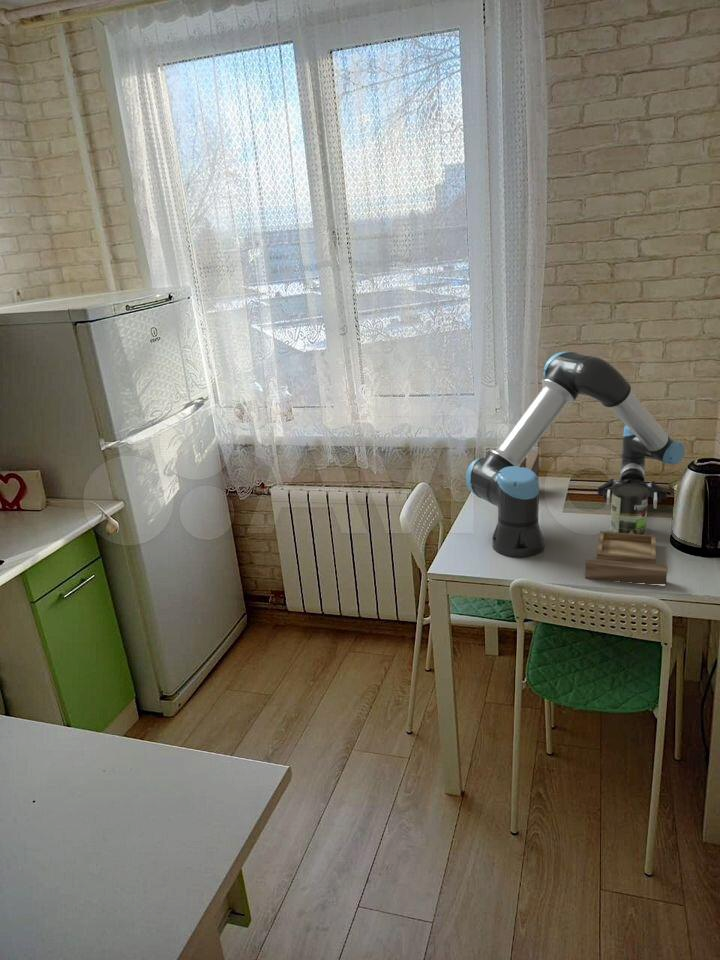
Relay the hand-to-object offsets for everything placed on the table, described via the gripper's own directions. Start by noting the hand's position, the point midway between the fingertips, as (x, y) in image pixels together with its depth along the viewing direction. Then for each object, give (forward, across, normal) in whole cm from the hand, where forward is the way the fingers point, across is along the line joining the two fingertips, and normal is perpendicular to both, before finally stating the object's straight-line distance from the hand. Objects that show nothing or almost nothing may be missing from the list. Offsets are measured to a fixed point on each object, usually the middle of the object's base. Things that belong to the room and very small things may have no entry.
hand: (631, 503), depth 217 cm
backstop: (+36, +1, -8) cm, 36 cm away
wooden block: (-21, +34, -8) cm, 41 cm away
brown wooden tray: (+20, +1, -7) cm, 21 cm away
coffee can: (+5, +1, -8) cm, 9 cm away
